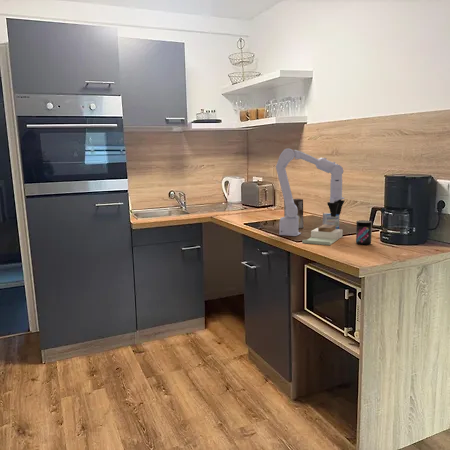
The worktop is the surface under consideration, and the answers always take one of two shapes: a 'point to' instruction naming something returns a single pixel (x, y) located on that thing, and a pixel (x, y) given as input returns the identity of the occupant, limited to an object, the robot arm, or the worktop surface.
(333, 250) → the worktop surface
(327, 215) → the medicine box
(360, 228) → the supplement container
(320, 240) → the mat
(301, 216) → the coffee box
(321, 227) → the tile
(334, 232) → the white box
